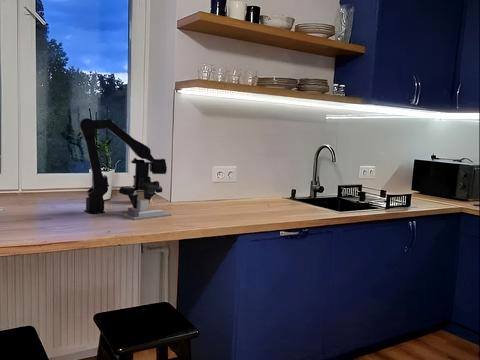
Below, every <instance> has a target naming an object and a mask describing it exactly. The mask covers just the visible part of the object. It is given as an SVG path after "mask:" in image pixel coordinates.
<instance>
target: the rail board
mask: <svg viewBox="0 0 480 360" xmlns="http://www.w3.org/2000/svg"><path fill="white" fill-rule="evenodd" d="M122 216H123V217H125V218H128V219H131V220H133V221H138V220H145V219H153V218H161V217H171V216H172V213H169V212H166V211H165V210H162V209H155V210H154V209H152V210H148V211H143V212H139V210H138V209H135V208H133V206H132V207H128V208H127V213H123V214H122Z"/></svg>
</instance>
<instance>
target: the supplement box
mask: <svg viewBox="0 0 480 360" xmlns="http://www.w3.org/2000/svg"><path fill="white" fill-rule="evenodd" d="M149 177H150V178H151V182H153V178H154V177H153V175H149ZM133 185H135V178H133ZM132 188H135V187H133V186H132ZM136 195H138V197H139V198H144V192H137V193H136ZM152 202H153V197H152V198H151V200H150V202H149V204H151V203H152Z"/></svg>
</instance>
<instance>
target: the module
mask: <svg viewBox="0 0 480 360" xmlns="http://www.w3.org/2000/svg"><path fill="white" fill-rule="evenodd" d="M149 204H150V203H149V200H147V199H144V198H139V197H137V208H136V209H138V210H139V212H143V211H149Z"/></svg>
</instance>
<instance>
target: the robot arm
mask: <svg viewBox="0 0 480 360" xmlns="http://www.w3.org/2000/svg"><path fill="white" fill-rule="evenodd" d="M78 128H79V130H80V133H81V134H82V137H83V139H84V142H85V145H86V149H87V151H86V152H87V155H88V159H89V164H90V169H91V187H90V188H89V189H88V190H87V191H86V194H87V197H86V198H85V209H84V210H83V212H85V213H88V214H90V215H95V214H103V213H106V211H105V200H104V195H106V194H107V193H108V191H109V187H110V185H109V182H108V180H109V178H108V176H107V175H106V174H104V175H103V172H102V166H101V161H100V158H99V153H98V148H97V144H96V130H102V129H103V130H104V129H107V130H109V131H110V132H111V134H112V135H115V136H116V137H117V138H119V139H120V140H121V141H122V142H124V144H126V145H127V146H128V147H129V148H130V150H131V151H132V152H133V153H134V154H135V155H136V157H134V158H133V159H132V160H130V163H131V164H135V165H134V166H135V170H134V172H135V173H134V175H133V179H134V178H135V185H134V184H133V185H132V187H131V186H119V190H118V193H119V195H120V194H121V195H125V196H128V199H129V200H130V203H131V205H132V208H135V209H136V208H137V197H138V195H136V193H137V192H144V199H147V200H149V202H150V200H151V198H152V199H153V196H156V195H157V194H158V193H163V187H162V186H161V185H160V181H158V180H154V181H152V182H151V178H150V177H149V176H150V175H149V173H150V172H151V173H152V175H167V171H168V169H167V167H168V166H167V161H166V159H165V158H154V156H153V155H152V154H151V148H150V147H149V146H147V145H146V144H144V143H142V142H140V141H139V140H136V139H135V138H134V137H133V136H131V135H130V134H129V133H127V132H126V131H125V130H124V129H123V128H121V127H120V126H119V125H118V124H117V123H115V122H114V120H112V119H111V118H104V119H91V118H88V117H84V118H82V119H80V120H79V123H78ZM137 157H138V158H140V159H138V158H137ZM145 160H146V161H145ZM133 187H135V188H133Z"/></svg>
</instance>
